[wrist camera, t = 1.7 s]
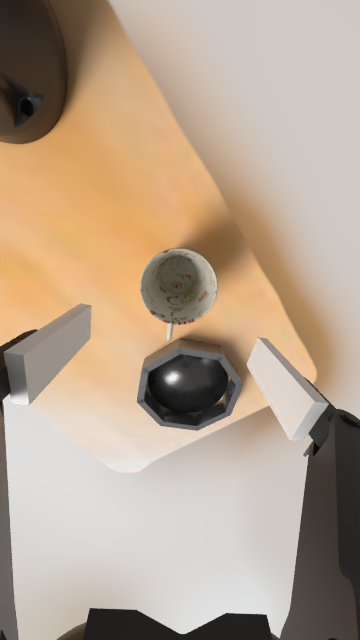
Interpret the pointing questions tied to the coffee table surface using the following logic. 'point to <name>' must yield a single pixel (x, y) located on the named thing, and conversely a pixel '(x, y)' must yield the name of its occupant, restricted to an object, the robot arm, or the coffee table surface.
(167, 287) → the mug
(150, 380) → the gray octagonal container
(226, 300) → the coffee table surface
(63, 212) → the coffee table surface
